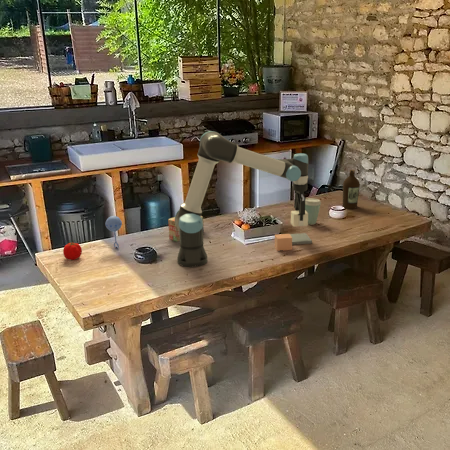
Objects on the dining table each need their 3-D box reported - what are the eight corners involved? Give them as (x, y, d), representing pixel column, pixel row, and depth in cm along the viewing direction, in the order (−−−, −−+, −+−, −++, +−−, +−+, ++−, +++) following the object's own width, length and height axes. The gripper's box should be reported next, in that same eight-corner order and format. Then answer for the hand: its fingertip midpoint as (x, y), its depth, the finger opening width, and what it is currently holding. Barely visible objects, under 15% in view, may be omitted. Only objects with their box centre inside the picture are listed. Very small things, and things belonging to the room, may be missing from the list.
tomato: (66, 263, 250) (64, 248, 247) (61, 257, 258) (59, 242, 255) (85, 259, 255) (83, 244, 252) (79, 253, 263) (77, 238, 260)
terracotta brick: (277, 251, 261) (277, 238, 258) (274, 246, 266) (274, 234, 264) (291, 250, 262) (292, 237, 259) (289, 245, 267) (289, 233, 265)
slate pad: (290, 244, 268) (290, 242, 268) (285, 236, 279) (285, 234, 279) (311, 243, 270) (312, 240, 269) (305, 235, 281) (305, 233, 280)
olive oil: (338, 205, 333) (341, 168, 324) (353, 204, 335) (356, 167, 326) (345, 210, 323) (348, 172, 314) (360, 208, 325) (363, 171, 316)
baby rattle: (104, 247, 269) (101, 216, 263) (117, 243, 275) (114, 212, 269) (114, 252, 263) (110, 220, 257) (127, 247, 269) (124, 215, 263)
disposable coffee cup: (302, 219, 306) (303, 196, 301) (320, 220, 304) (321, 197, 299) (301, 225, 297) (302, 201, 292) (319, 226, 295) (321, 202, 289)
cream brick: (293, 226, 268) (293, 214, 266) (290, 223, 274) (290, 211, 271) (307, 225, 269) (308, 213, 267) (304, 222, 275) (305, 210, 272)
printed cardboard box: (196, 229, 294) (195, 209, 290) (203, 231, 290) (203, 211, 286) (169, 239, 280) (167, 218, 275) (176, 242, 276) (175, 221, 271)
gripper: (312, 187, 255) (310, 229, 263) (302, 178, 273) (301, 217, 281) (298, 188, 254) (296, 230, 262) (289, 178, 272) (288, 218, 280)
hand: (299, 223), depth 271 cm, fingers closed on cream brick, 6 cm apart
